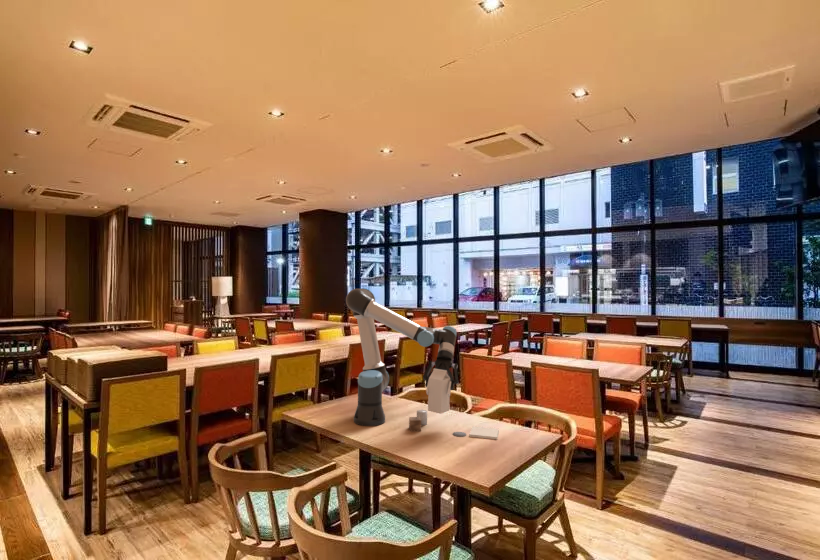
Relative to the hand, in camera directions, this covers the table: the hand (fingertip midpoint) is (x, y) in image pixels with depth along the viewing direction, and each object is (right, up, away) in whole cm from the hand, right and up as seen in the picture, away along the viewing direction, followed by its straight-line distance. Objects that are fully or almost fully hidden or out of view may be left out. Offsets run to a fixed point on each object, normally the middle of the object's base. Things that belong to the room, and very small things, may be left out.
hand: (437, 394), depth 194 cm
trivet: (+21, -17, -2) cm, 27 cm away
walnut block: (-10, -17, +2) cm, 20 cm away
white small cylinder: (-7, -17, +11) cm, 21 cm away
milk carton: (+1, -9, +3) cm, 9 cm away
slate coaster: (+9, -17, -3) cm, 20 cm away
